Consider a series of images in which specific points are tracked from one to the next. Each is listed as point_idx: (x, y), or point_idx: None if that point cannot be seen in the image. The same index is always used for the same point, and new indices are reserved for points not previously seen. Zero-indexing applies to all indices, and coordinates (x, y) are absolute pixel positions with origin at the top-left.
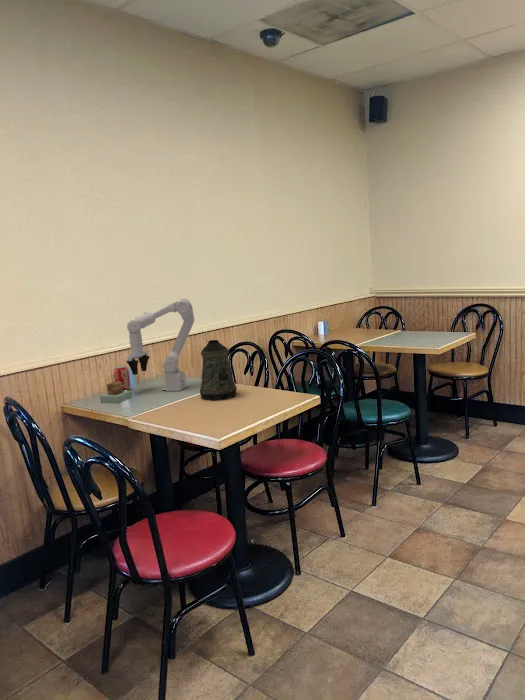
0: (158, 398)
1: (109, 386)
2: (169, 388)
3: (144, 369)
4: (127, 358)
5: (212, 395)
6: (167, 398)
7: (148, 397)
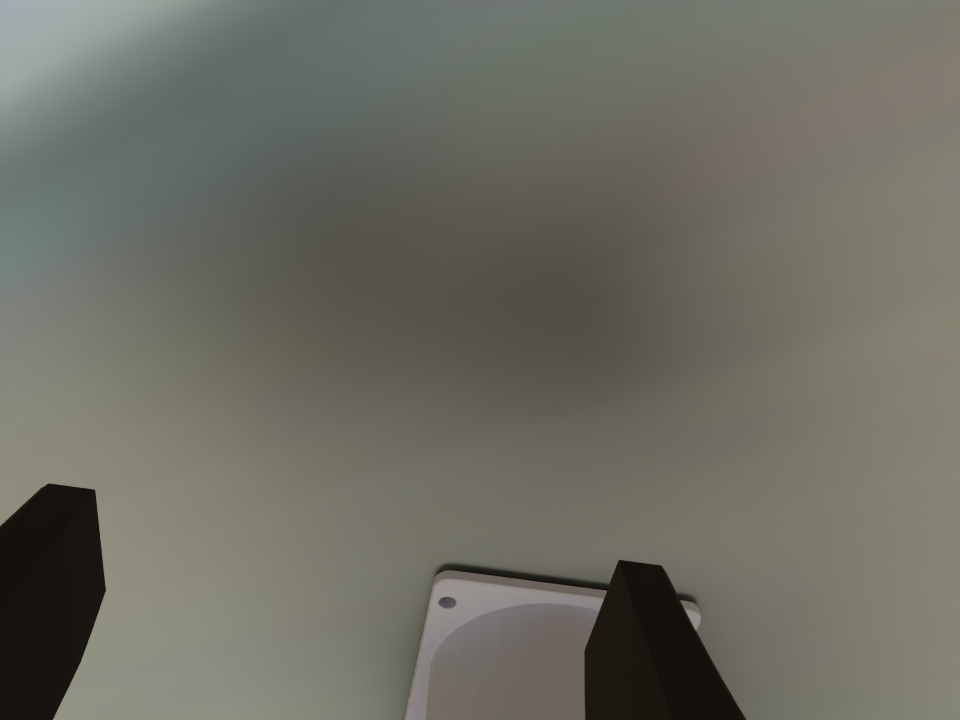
0: None
1: None
2: (429, 683)
3: (599, 679)
4: None
5: None
6: None
7: (25, 500)
